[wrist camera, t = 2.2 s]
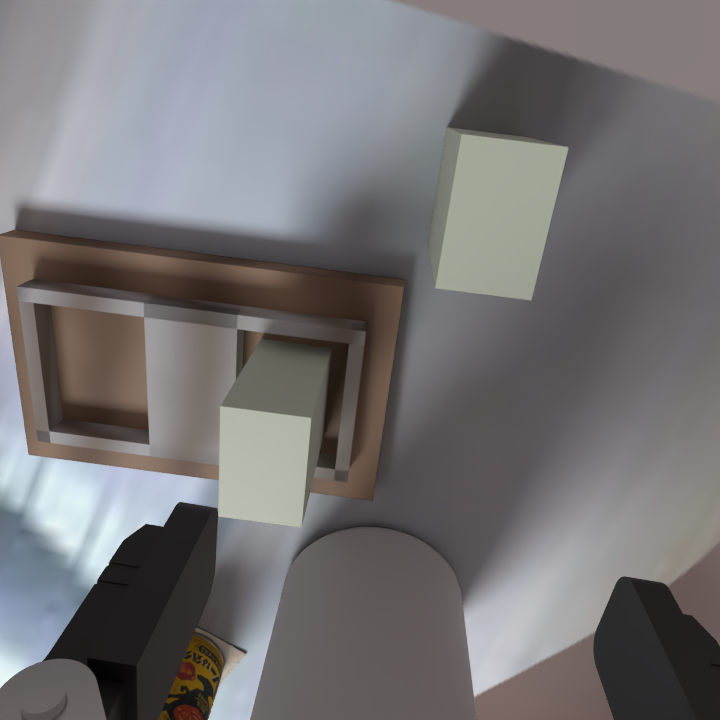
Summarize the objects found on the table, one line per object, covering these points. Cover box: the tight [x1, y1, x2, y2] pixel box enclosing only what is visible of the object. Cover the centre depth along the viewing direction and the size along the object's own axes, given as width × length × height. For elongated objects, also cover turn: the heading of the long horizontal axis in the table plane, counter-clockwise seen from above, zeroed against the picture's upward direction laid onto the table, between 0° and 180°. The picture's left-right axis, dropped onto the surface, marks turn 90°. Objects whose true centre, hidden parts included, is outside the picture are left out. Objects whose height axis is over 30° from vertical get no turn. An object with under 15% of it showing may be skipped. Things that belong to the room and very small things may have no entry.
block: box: [218, 339, 332, 528], centre depth 30 cm, size 4×6×8 cm, turn 174°
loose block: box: [428, 127, 569, 300], centre depth 26 cm, size 4×6×8 cm, turn 174°
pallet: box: [0, 230, 404, 501], centre depth 34 cm, size 22×14×3 cm, turn 84°
